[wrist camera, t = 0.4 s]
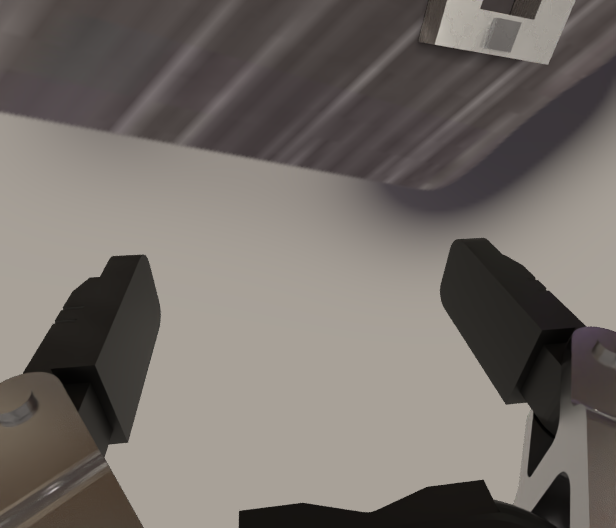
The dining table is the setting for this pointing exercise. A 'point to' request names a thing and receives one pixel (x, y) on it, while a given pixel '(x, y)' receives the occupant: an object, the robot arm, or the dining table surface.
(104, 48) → the dining table surface
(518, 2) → the block
